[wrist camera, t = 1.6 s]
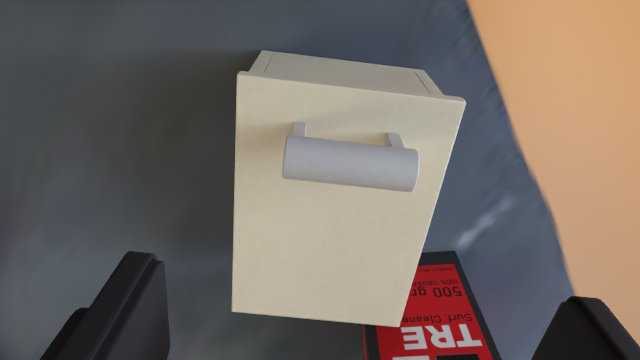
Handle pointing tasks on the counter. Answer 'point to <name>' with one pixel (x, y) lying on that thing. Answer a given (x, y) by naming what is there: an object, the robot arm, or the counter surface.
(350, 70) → the cool box
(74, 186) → the counter surface
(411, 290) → the cleaning product box
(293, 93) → the cool box door
